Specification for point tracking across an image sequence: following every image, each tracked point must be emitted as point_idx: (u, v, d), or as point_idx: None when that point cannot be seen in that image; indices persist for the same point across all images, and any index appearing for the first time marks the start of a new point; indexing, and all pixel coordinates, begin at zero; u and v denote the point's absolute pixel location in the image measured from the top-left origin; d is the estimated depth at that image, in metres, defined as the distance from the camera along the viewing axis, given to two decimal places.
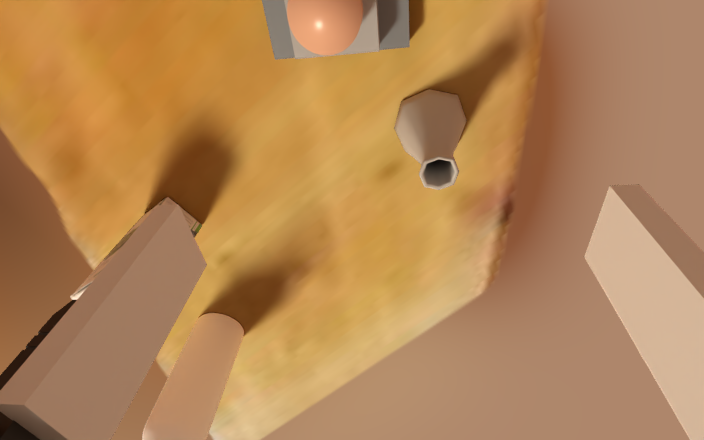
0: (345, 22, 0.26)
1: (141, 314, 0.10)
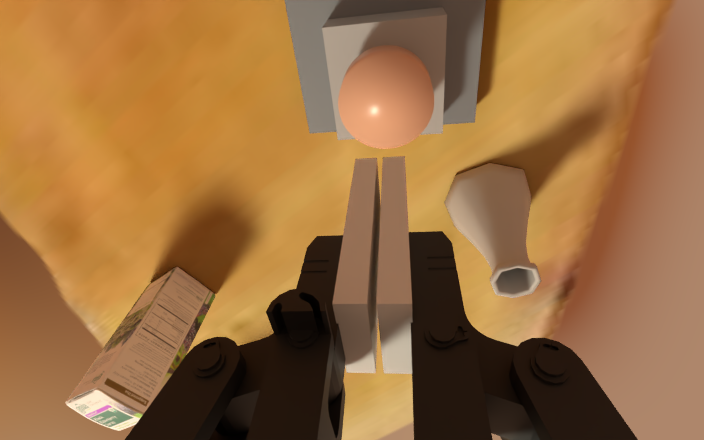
0: (412, 113, 0.21)
1: (376, 250, 0.11)
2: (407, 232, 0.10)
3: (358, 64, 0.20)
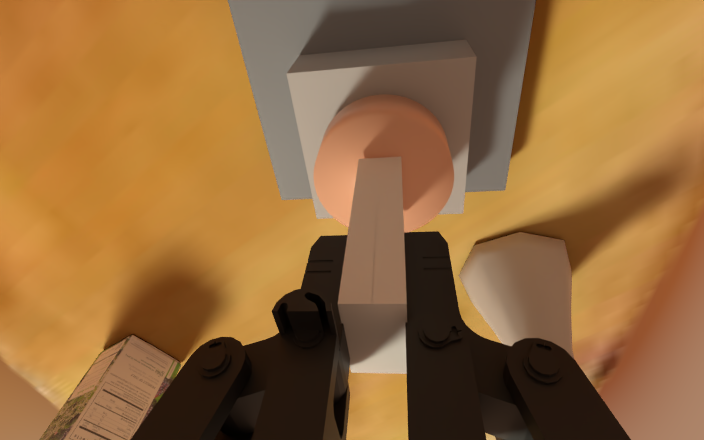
0: (421, 193, 0.14)
1: None
2: (403, 232, 0.10)
3: (341, 128, 0.13)
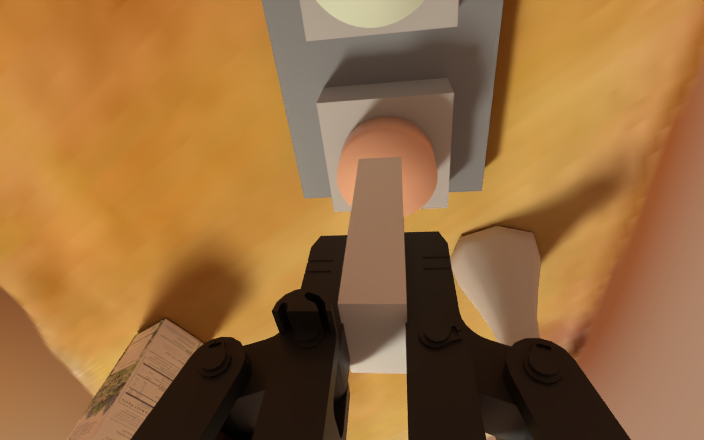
0: (414, 187, 0.20)
1: None
2: (403, 232, 0.10)
3: (358, 140, 0.19)
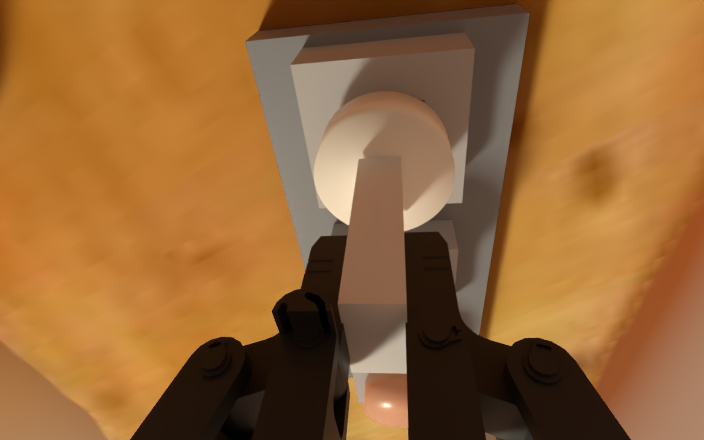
0: None
1: None
2: (403, 232, 0.10)
3: (380, 394, 0.26)
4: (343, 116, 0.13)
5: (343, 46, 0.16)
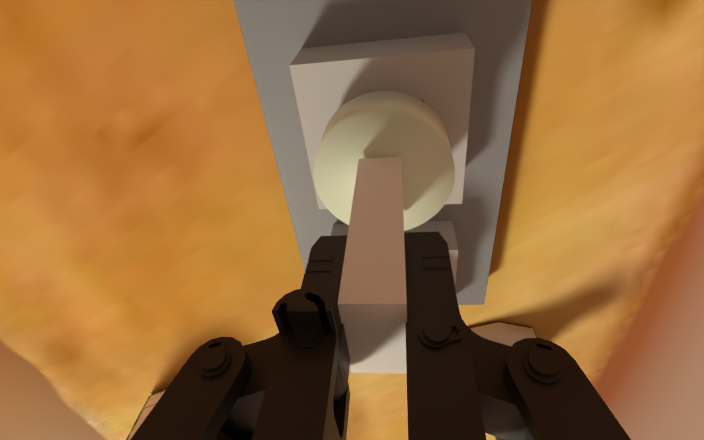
0: None
1: None
2: (403, 232, 0.10)
3: None
4: None
5: None
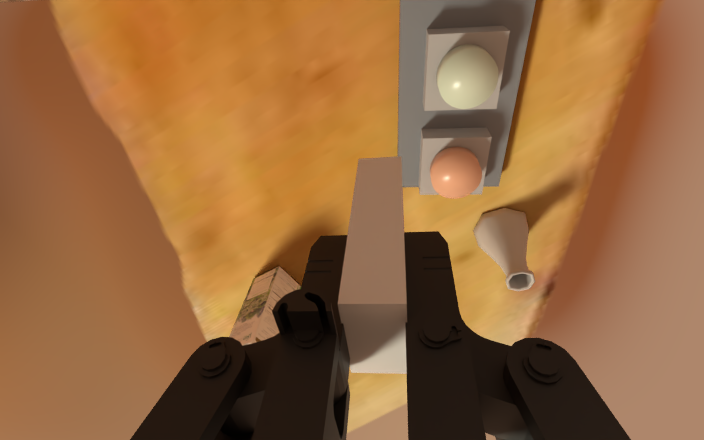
0: (469, 182, 0.40)
1: None
2: (403, 232, 0.10)
3: (445, 158, 0.39)
4: None
5: None
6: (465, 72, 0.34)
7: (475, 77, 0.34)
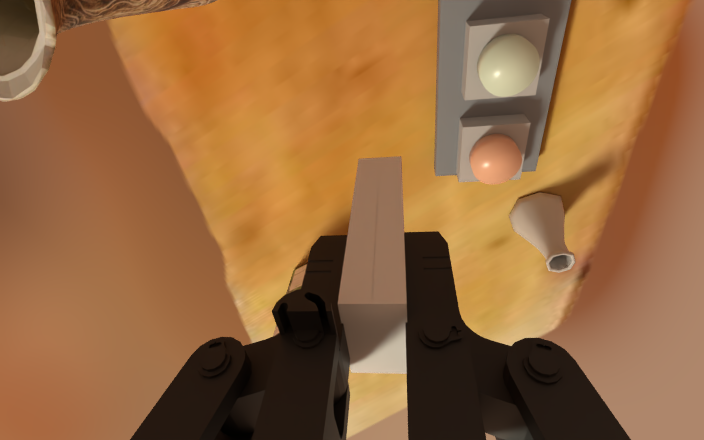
0: (509, 167, 0.41)
1: None
2: (403, 232, 0.10)
3: (486, 145, 0.40)
4: None
5: None
6: (507, 61, 0.35)
7: (517, 65, 0.35)
